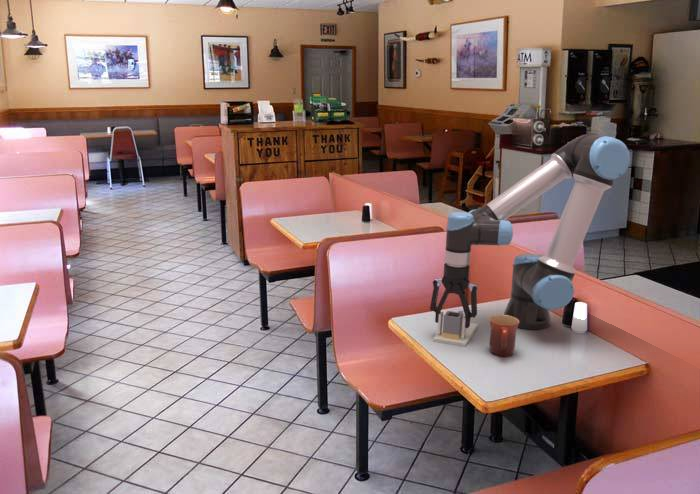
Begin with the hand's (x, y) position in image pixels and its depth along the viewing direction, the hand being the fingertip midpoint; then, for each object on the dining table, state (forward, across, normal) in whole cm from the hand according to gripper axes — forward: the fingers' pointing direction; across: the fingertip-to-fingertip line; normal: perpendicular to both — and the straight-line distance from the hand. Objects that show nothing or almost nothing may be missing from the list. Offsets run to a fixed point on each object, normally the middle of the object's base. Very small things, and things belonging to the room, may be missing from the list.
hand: (451, 334), depth 197 cm
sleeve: (0, 0, 0) cm, 0 cm away
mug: (+1, -16, +5) cm, 17 cm away
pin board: (+1, 0, -5) cm, 5 cm away
